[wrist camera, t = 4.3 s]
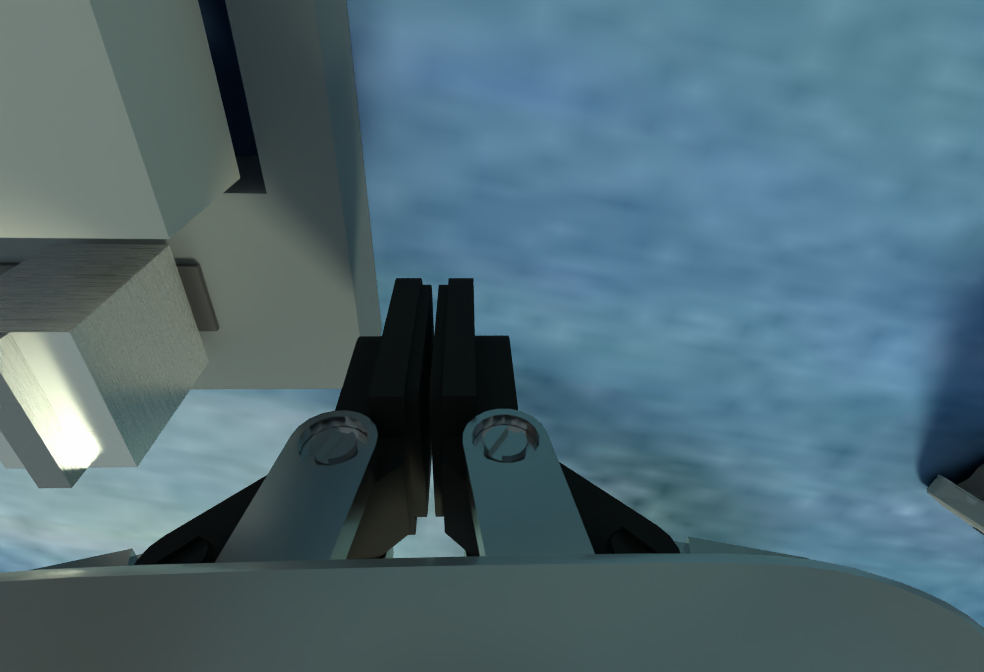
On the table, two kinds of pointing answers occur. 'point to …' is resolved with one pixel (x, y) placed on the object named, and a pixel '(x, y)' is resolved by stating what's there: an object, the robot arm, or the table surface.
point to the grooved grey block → (92, 357)
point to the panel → (279, 213)
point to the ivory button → (108, 119)
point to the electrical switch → (962, 497)
